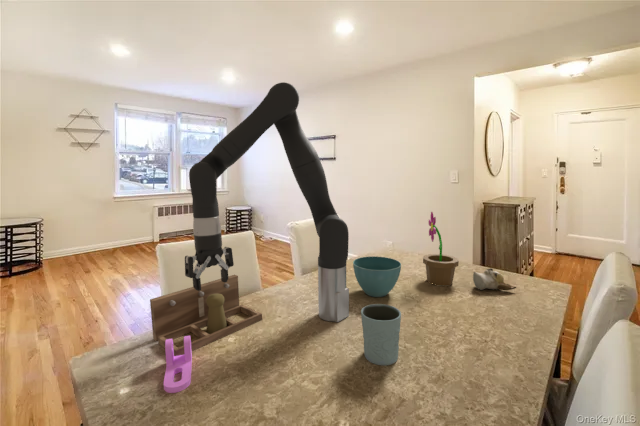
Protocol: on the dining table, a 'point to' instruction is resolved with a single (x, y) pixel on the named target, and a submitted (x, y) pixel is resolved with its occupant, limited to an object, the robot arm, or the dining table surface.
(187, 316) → the wooden peg rack
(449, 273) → the flowerpot
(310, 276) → the dining table surface
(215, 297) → the olive bulbous cylinder
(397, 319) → the light blue cup
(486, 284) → the ceramic sculpture
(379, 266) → the teal bowl
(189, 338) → the bracket
